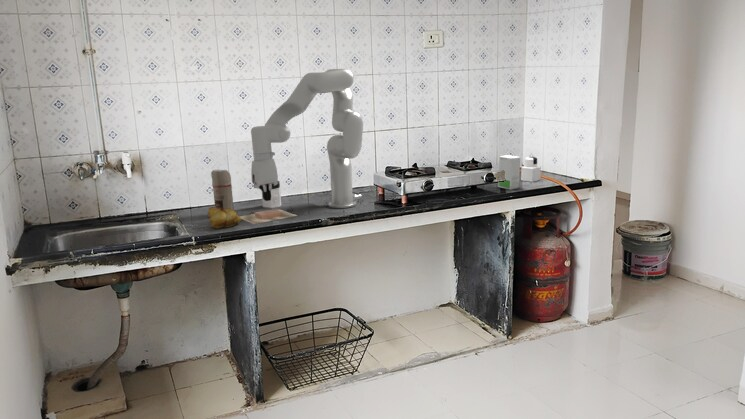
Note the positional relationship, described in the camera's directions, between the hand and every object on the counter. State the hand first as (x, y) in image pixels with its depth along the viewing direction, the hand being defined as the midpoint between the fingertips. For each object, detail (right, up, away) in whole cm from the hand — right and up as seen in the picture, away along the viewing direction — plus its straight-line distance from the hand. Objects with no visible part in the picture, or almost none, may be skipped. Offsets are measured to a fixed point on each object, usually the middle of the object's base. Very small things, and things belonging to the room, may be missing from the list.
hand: (267, 200), depth 257 cm
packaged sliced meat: (0, -8, +1) cm, 8 cm away
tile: (+4, -5, +4) cm, 7 cm away
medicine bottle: (+126, +11, +63) cm, 141 cm away
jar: (-1, -3, +21) cm, 21 cm away
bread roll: (-16, -11, -7) cm, 20 cm away
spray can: (-21, -6, +12) cm, 25 cm away
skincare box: (+111, +7, +47) cm, 121 cm away
